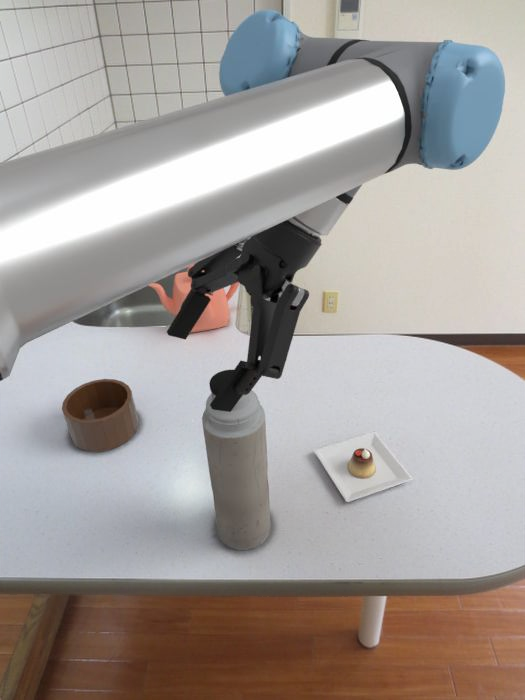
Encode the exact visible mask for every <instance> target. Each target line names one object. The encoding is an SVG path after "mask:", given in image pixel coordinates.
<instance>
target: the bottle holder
mask: <svg viewBox="0 0 525 700" xmlns="http://www.w3.org/2000/svg"><path fill="white" fill-rule="evenodd" d="M65 396H66V397H65V398H64V399H63V401H62V405H61V412H62V414H63V417H64V420H65V423H66V426H67V429H68V432H69V435H70V437H71V440H72V442H73V444H74V445H75V447H77V448H78V449H80V450H82V451H85V452H90V453H100V452H101V453H102V452H109V451H111V450H114V449H116V448H119V447H121V446H123V445H125V444H126V443H128V442H129V441H130V440H131V439H132V438H133V436H134V435H135V434H136V432H137V431H138V428H139V418H138V413H137V408H136V403H135V399H134V395H133V391H132V389H131V387H130V386H129V385H128V384H127V383H125V382H124V381H122V380H118V379H112V378H102V379H95V380H91V381H88V382H86V383H83V384H81V385H79V386H77V387H76V388H74V389H73V390H71V391H70V392H69V393H68V394H67V395H65Z"/></svg>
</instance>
